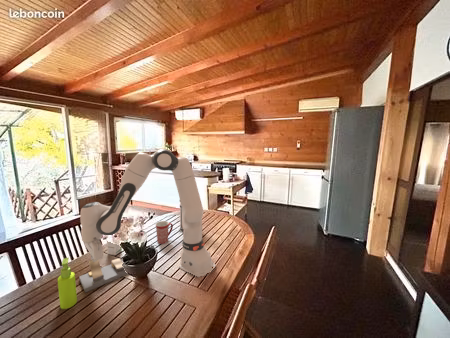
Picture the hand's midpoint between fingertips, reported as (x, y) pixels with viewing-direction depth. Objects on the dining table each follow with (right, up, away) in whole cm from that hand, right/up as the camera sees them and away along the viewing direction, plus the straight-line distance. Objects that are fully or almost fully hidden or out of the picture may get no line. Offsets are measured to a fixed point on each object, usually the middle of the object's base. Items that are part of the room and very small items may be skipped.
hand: (94, 260), depth 103 cm
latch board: (+4, -10, +5) cm, 12 cm away
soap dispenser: (-2, -13, -14) cm, 19 cm away
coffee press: (+36, -3, +64) cm, 74 cm away
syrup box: (-4, -7, +26) cm, 27 cm away
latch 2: (+8, -7, +8) cm, 14 cm away
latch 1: (+1, -5, -1) cm, 5 cm away
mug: (+23, -5, +43) cm, 49 cm away
